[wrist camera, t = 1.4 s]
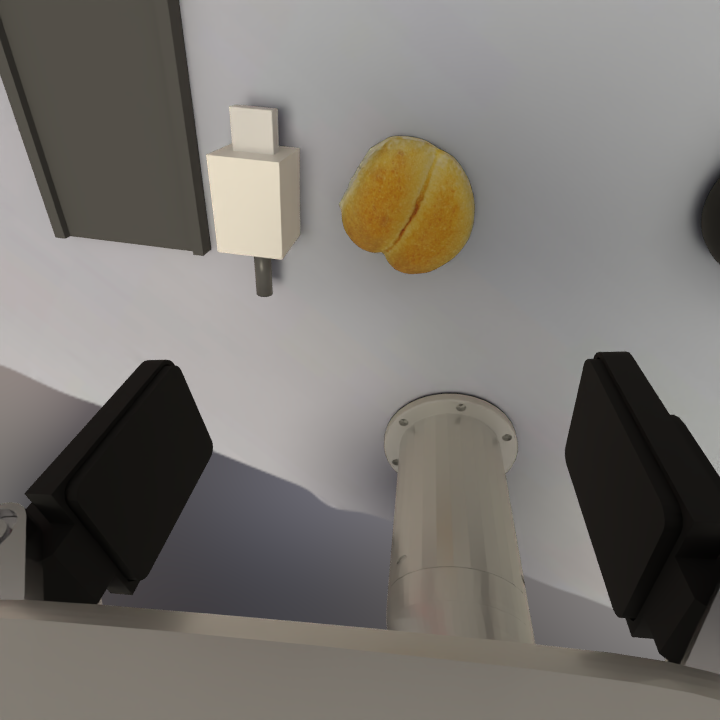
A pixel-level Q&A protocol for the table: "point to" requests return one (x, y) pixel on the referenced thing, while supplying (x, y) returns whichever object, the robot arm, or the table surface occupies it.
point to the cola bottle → (712, 221)
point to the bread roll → (409, 204)
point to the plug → (255, 191)
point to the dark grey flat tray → (107, 118)
